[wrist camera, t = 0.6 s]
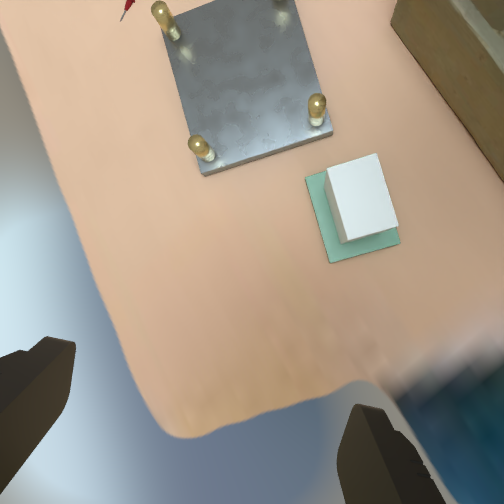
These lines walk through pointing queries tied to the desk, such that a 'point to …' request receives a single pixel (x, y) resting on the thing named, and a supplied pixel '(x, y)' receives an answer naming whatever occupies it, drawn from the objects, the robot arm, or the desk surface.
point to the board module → (353, 208)
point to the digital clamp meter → (127, 6)
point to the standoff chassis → (243, 80)
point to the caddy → (462, 61)
